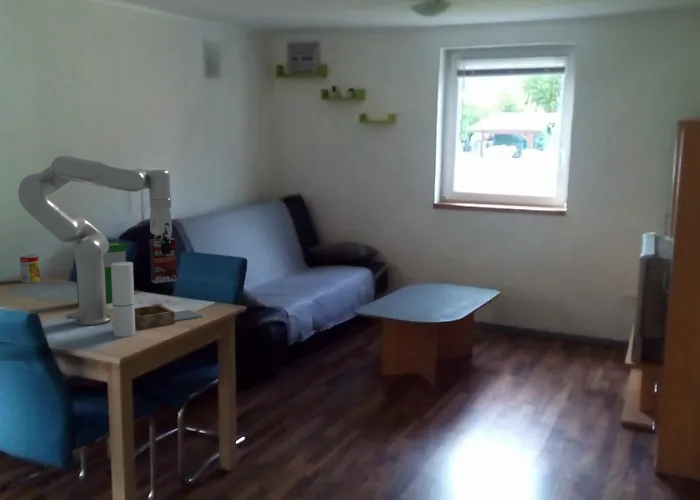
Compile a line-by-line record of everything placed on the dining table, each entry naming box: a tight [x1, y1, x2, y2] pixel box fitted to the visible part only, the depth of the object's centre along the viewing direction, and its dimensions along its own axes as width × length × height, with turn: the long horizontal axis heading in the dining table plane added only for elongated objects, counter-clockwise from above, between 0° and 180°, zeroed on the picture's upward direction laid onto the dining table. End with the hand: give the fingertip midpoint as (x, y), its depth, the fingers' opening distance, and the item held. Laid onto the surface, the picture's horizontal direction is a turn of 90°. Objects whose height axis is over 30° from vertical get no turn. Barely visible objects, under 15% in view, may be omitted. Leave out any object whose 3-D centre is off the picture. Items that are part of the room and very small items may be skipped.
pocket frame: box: [134, 304, 176, 330], centre depth 254 cm, size 13×13×4 cm
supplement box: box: [149, 237, 178, 284], centre depth 254 cm, size 9×5×16 cm, turn 123°
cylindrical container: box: [111, 261, 136, 338], centre depth 237 cm, size 7×7×25 cm
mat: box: [174, 309, 203, 323], centre depth 263 cm, size 11×11×1 cm
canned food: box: [19, 253, 41, 284], centre depth 320 cm, size 8×8×12 cm
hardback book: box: [74, 241, 127, 305], centre depth 282 cm, size 18×7×24 cm, turn 131°
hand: (163, 252), depth 254 cm, fingers closed on supplement box, 5 cm apart
